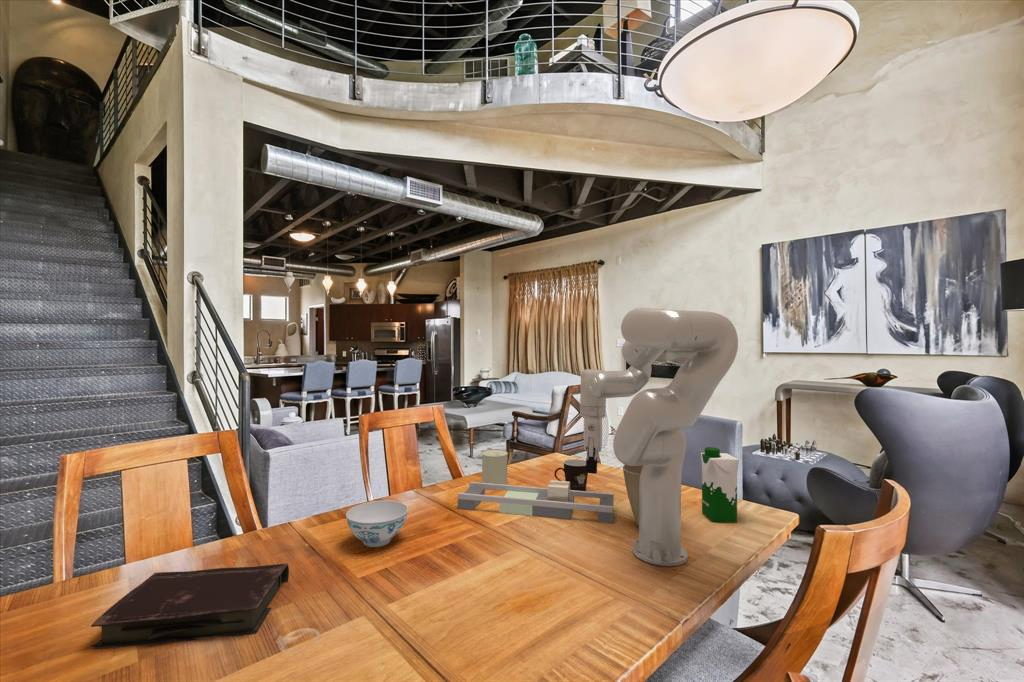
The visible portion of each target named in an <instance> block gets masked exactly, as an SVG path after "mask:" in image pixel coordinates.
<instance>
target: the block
mask: <svg viewBox="0 0 1024 682" xmlns="http://www.w3.org/2000/svg"><path fill="white" fill-rule="evenodd" d="M547 488H548V501H559V502H569V500H570V482H567V481H565V480H561V481H559V480H553V479H551V480H550V481H549V483H548V485H547Z"/></svg>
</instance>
